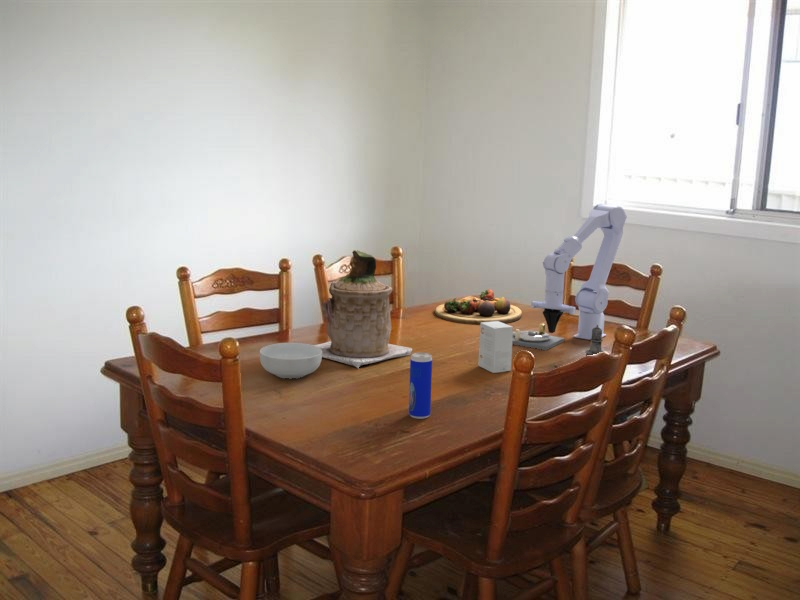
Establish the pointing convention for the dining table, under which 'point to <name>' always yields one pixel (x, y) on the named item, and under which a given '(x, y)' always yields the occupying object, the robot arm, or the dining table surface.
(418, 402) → the beverage can
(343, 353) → the cookie jar
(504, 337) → the small box
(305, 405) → the dining table surface
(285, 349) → the cereal bowl
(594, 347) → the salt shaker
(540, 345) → the jig board
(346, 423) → the dining table surface
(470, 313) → the wooden plate with food
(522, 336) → the flange plate
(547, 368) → the dining table surface
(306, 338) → the dining table surface
